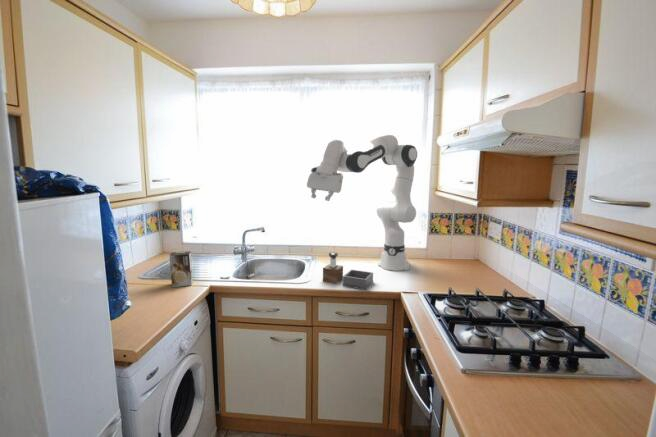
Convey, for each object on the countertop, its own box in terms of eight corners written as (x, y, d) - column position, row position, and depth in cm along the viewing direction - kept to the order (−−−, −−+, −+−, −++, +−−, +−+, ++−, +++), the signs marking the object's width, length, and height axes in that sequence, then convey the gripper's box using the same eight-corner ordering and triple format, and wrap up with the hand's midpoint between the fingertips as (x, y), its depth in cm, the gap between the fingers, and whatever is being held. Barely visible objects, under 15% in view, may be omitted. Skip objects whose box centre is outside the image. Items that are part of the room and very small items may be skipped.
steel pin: (330, 277, 168) (331, 252, 166) (338, 279, 166) (339, 253, 164) (327, 280, 164) (327, 254, 162) (335, 281, 162) (335, 255, 160)
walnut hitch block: (329, 276, 170) (329, 264, 169) (342, 278, 167) (343, 265, 166) (322, 280, 163) (323, 268, 162) (337, 283, 160) (337, 270, 159)
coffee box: (193, 281, 161) (191, 251, 158) (191, 285, 155) (189, 254, 152) (173, 283, 158) (171, 252, 156) (171, 287, 152) (169, 255, 150)
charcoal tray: (351, 278, 167) (351, 269, 167) (372, 281, 162) (373, 272, 162) (342, 285, 156) (343, 276, 156) (365, 289, 152) (366, 279, 151)
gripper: (347, 175, 147) (340, 203, 147) (317, 172, 161) (310, 198, 160) (339, 171, 143) (331, 200, 142) (308, 168, 156) (301, 195, 156)
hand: (319, 199), depth 151 cm, fingers open, 8 cm apart
